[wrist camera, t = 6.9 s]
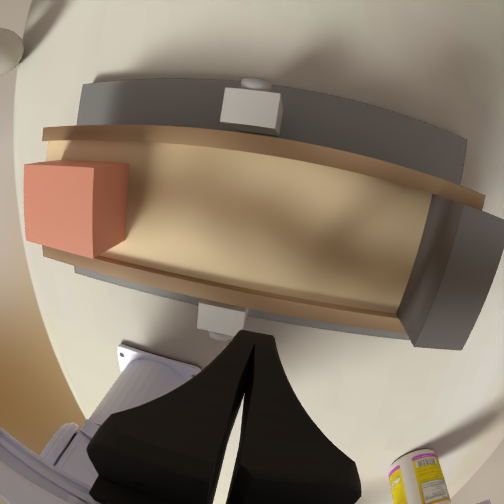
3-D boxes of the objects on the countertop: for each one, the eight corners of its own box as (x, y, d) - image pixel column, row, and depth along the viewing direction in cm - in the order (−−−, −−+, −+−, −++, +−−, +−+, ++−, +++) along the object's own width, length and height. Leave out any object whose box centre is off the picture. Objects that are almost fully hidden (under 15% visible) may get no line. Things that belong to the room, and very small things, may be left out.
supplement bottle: (396, 477, 27) (407, 551, 15) (380, 464, 26) (392, 549, 14) (439, 456, 25) (459, 529, 13) (429, 440, 24) (453, 525, 12)
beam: (428, 322, 15) (454, 363, 11) (57, 249, 17) (17, 270, 13) (470, 191, 12) (514, 205, 8) (59, 127, 14) (13, 128, 10)
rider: (125, 240, 15) (93, 258, 12) (60, 226, 15) (26, 240, 12) (129, 163, 13) (94, 168, 10) (60, 159, 14) (24, 164, 11)
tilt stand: (405, 333, 20) (430, 380, 15) (81, 268, 22) (37, 297, 17) (459, 140, 15) (510, 140, 10) (90, 86, 17) (39, 75, 12)
